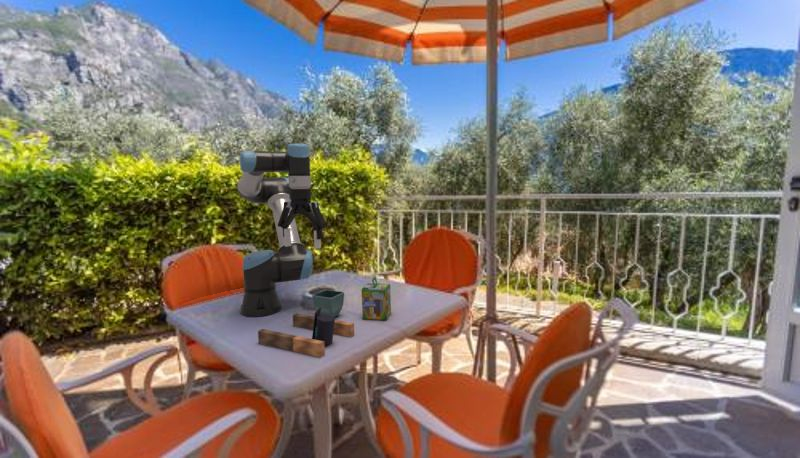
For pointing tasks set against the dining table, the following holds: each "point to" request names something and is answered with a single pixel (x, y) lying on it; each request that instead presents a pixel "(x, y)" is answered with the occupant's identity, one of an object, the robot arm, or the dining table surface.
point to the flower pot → (328, 302)
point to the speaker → (323, 328)
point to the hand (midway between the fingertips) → (302, 247)
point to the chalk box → (376, 301)
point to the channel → (303, 343)
